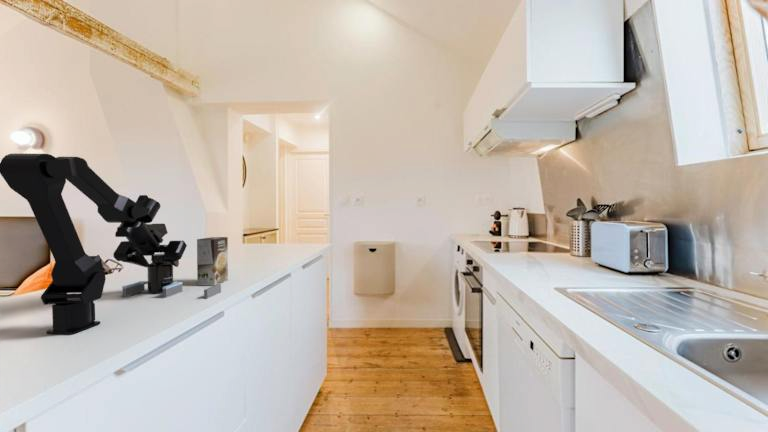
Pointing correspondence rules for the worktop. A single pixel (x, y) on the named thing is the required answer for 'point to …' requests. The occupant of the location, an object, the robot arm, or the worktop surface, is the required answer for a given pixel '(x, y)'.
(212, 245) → the coffee box
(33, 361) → the worktop surface
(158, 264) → the supplement bottle
